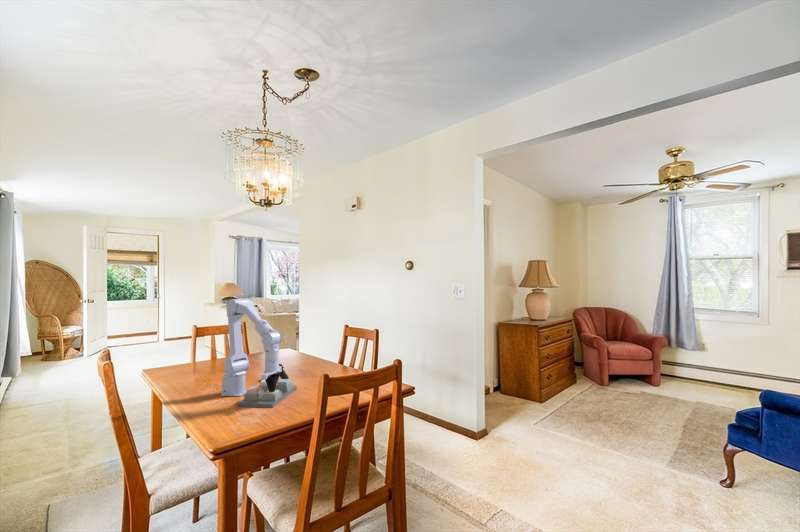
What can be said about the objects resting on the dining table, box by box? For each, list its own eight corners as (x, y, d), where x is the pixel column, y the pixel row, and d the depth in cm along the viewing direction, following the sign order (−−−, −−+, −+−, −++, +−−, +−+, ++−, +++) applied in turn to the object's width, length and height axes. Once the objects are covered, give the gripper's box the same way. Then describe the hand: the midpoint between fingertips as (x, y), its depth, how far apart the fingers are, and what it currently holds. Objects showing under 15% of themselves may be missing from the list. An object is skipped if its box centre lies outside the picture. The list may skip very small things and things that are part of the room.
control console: (238, 406, 154) (238, 397, 154) (267, 387, 179) (267, 380, 179) (272, 407, 152) (272, 398, 152) (296, 388, 177) (296, 380, 177)
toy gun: (288, 378, 189) (277, 361, 190) (270, 392, 190) (259, 376, 192) (290, 376, 191) (280, 360, 192) (272, 390, 193) (262, 374, 194)
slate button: (277, 387, 169) (277, 381, 169) (281, 384, 173) (281, 379, 174) (286, 387, 168) (286, 382, 168) (290, 384, 173) (290, 379, 173)
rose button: (246, 395, 158) (246, 389, 158) (252, 392, 163) (252, 386, 163) (256, 395, 157) (256, 389, 157) (262, 392, 162) (262, 386, 162)
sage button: (264, 398, 157) (264, 392, 157) (269, 395, 162) (269, 389, 162) (274, 399, 156) (274, 393, 156) (279, 395, 161) (279, 389, 161)
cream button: (260, 386, 170) (260, 381, 170) (265, 383, 174) (265, 378, 175) (270, 387, 169) (270, 381, 169) (274, 384, 174) (274, 378, 174)
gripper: (272, 364, 152) (272, 397, 151) (287, 356, 166) (287, 386, 166) (256, 363, 153) (256, 396, 152) (273, 356, 167) (273, 386, 167)
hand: (271, 391), depth 159 cm, fingers closed, pressing on sage button
